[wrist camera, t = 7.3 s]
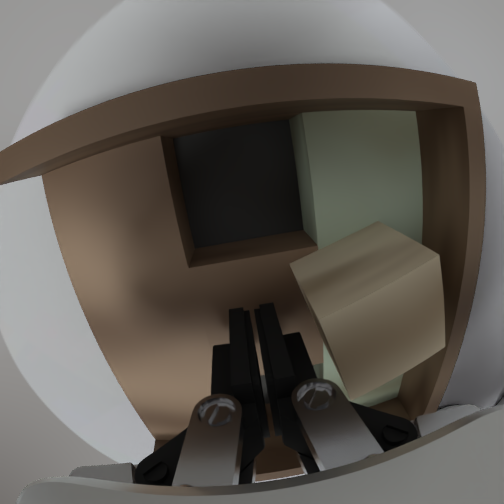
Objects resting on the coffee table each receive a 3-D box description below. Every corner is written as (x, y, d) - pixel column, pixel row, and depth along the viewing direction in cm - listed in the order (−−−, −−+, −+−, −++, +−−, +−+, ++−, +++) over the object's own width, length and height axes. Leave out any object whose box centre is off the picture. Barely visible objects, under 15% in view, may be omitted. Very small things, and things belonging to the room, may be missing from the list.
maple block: (397, 297, 12) (445, 346, 8) (321, 337, 12) (351, 400, 9) (377, 220, 11) (439, 254, 7) (288, 263, 11) (318, 319, 7)
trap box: (392, 378, 17) (426, 432, 12) (165, 420, 17) (156, 484, 12) (399, 97, 11) (475, 82, 6) (66, 150, 11) (-10, 157, 6)
